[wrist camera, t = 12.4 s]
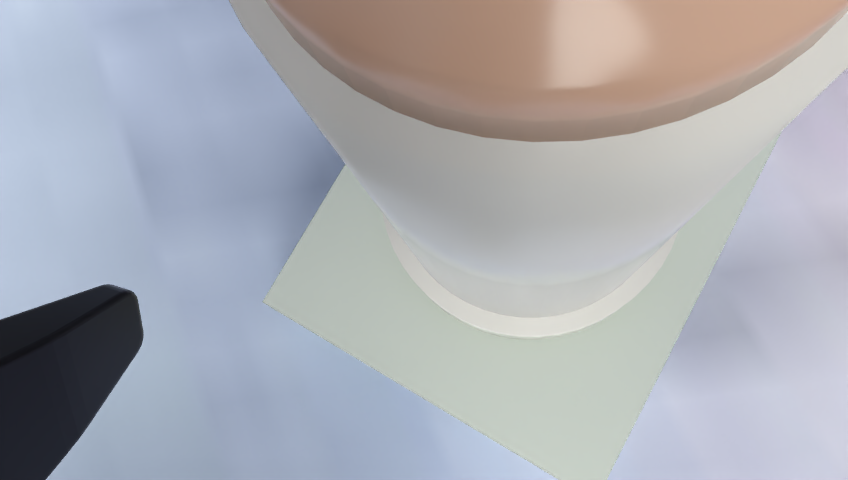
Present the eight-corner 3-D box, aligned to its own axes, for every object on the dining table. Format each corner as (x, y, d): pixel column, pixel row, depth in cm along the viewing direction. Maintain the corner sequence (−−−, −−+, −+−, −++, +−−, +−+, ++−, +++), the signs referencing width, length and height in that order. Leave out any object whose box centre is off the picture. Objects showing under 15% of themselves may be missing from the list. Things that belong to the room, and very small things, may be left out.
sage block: (584, 486, 18) (595, 501, 16) (292, 312, 20) (262, 301, 18) (767, 125, 19) (803, 87, 17) (477, 1, 22) (472, -48, 19)
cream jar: (687, 332, 16) (1299, 134, 4) (395, 346, 17) (59, 228, 4) (652, 62, 18) (981, -716, 5) (388, 88, 19) (132, -522, 6)
